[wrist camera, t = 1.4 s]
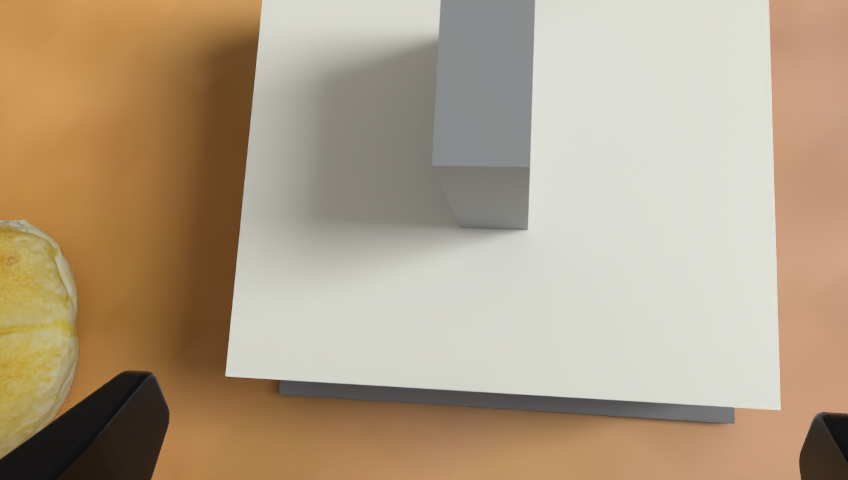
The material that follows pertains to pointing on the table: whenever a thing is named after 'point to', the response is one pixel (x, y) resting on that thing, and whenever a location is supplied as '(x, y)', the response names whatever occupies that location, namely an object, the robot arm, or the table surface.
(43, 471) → the robot arm
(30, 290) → the bread roll
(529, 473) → the table surface
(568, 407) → the mat
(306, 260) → the cover
